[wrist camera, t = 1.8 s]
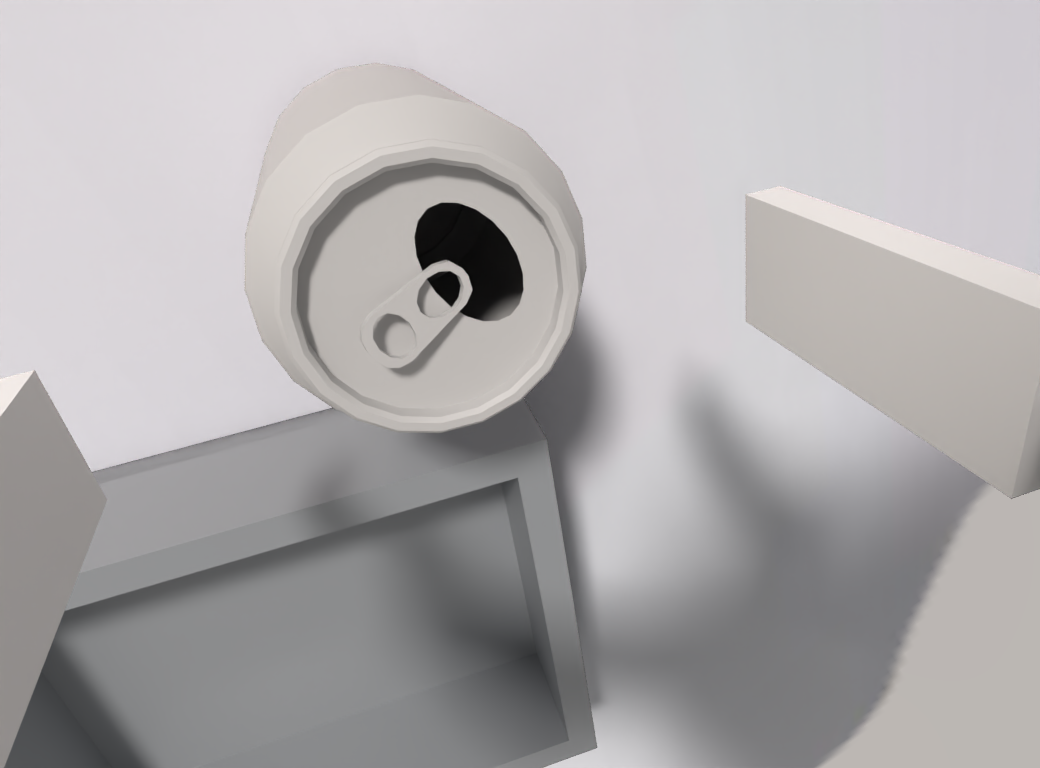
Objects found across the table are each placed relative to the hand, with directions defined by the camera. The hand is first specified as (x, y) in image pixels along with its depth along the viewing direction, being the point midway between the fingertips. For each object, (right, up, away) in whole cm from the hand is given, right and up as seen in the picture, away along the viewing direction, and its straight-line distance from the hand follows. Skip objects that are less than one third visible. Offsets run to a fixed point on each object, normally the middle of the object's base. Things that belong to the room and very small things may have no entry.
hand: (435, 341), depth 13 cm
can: (-3, +6, +11) cm, 13 cm away
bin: (-8, -10, +18) cm, 22 cm away
